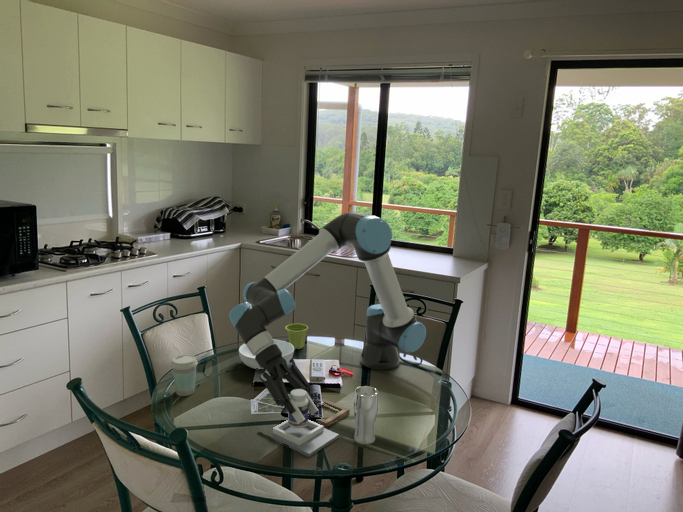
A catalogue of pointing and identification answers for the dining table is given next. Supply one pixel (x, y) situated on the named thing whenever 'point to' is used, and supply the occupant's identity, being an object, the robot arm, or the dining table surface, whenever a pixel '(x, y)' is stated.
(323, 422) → the wooden picture frame
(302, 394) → the pill bottle
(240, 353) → the serving bowl
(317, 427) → the dock
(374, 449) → the dining table surface
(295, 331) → the plant pot
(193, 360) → the coffee cup
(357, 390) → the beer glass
